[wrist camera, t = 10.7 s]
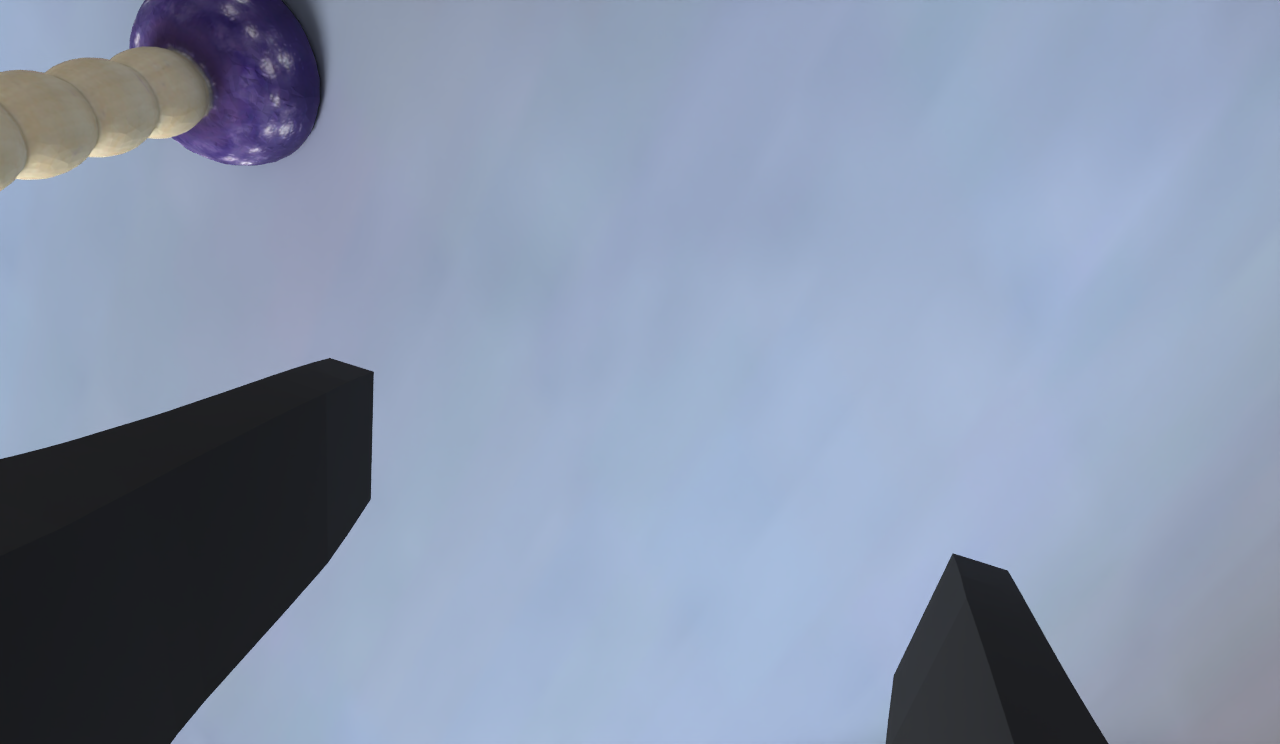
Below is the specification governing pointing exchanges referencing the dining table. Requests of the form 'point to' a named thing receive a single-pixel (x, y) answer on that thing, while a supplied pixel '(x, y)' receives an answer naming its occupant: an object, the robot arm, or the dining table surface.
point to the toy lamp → (169, 91)
